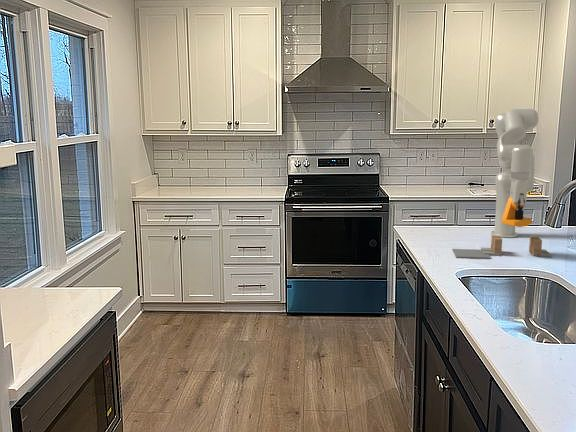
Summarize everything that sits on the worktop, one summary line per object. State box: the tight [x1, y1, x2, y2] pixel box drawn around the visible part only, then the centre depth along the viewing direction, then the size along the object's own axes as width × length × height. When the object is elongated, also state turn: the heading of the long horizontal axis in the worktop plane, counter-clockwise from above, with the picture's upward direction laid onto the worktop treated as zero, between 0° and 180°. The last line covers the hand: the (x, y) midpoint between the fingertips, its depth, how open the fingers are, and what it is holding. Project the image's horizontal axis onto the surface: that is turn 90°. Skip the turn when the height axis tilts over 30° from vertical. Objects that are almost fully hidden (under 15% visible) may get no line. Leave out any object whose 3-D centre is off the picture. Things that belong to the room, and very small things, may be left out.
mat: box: [452, 248, 492, 260], centre depth 242 cm, size 14×14×1 cm
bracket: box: [502, 197, 533, 228], centre depth 240 cm, size 11×7×12 cm, turn 118°
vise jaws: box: [480, 234, 553, 258], centre depth 242 cm, size 10×27×7 cm, turn 80°
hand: (517, 217), depth 241 cm, fingers closed on bracket, 4 cm apart
